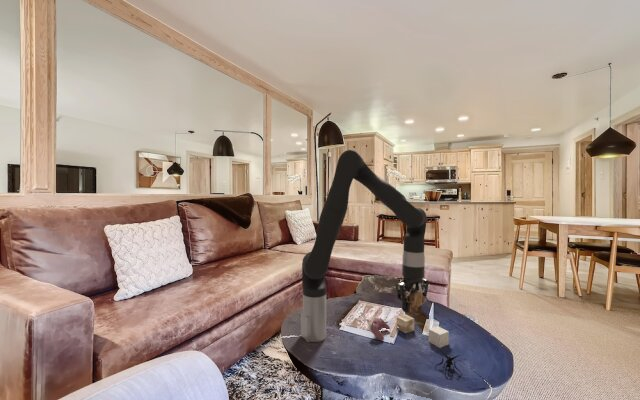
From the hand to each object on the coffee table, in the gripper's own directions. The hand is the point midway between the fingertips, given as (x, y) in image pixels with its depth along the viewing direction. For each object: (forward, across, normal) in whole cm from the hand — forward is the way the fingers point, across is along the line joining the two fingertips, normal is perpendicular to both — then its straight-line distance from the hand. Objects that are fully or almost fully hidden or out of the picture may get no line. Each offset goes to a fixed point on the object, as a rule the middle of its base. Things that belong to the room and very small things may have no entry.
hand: (412, 310), depth 104 cm
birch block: (+15, +10, +13) cm, 23 cm away
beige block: (+15, +14, -1) cm, 20 cm away
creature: (+15, +2, -14) cm, 21 cm away
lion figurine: (+1, +1, +1) cm, 2 cm away
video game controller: (+15, -2, +15) cm, 21 cm away
